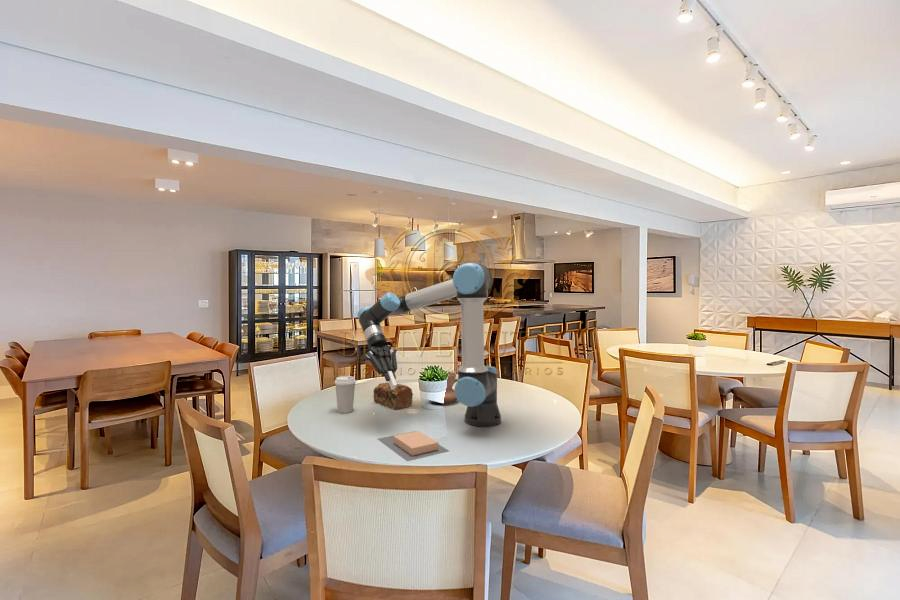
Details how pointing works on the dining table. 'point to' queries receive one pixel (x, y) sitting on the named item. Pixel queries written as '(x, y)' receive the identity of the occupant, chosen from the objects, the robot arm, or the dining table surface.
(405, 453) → the mat
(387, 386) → the bread
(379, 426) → the dining table surface
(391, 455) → the dining table surface
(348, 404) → the coffee cup
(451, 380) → the ceramic jug
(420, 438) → the tile
